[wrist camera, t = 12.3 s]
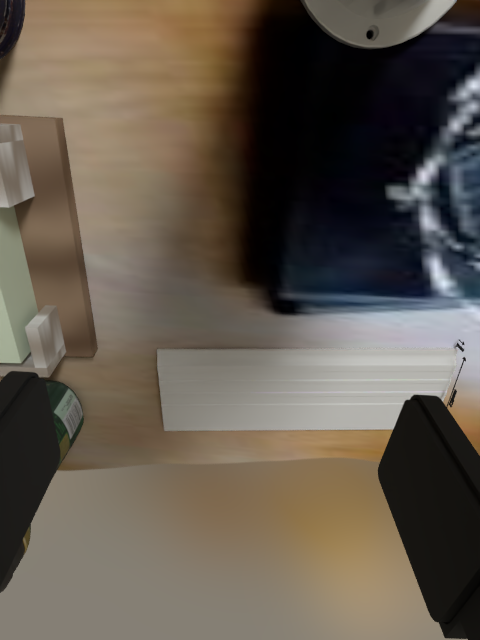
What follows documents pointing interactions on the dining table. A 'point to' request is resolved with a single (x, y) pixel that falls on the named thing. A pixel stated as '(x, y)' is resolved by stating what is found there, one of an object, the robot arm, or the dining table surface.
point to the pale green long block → (14, 291)
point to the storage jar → (10, 23)
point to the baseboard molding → (297, 386)
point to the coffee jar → (67, 429)
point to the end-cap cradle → (47, 240)
